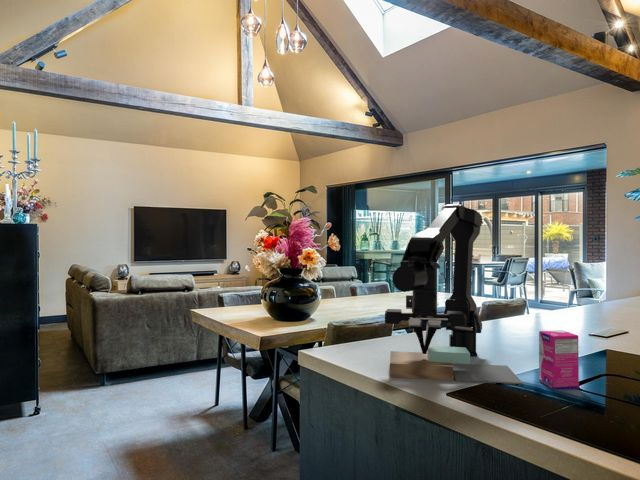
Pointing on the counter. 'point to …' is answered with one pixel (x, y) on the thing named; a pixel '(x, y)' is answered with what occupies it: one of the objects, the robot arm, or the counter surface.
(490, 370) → the mat
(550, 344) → the supplement box
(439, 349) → the mint green block
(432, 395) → the counter surface
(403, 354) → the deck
